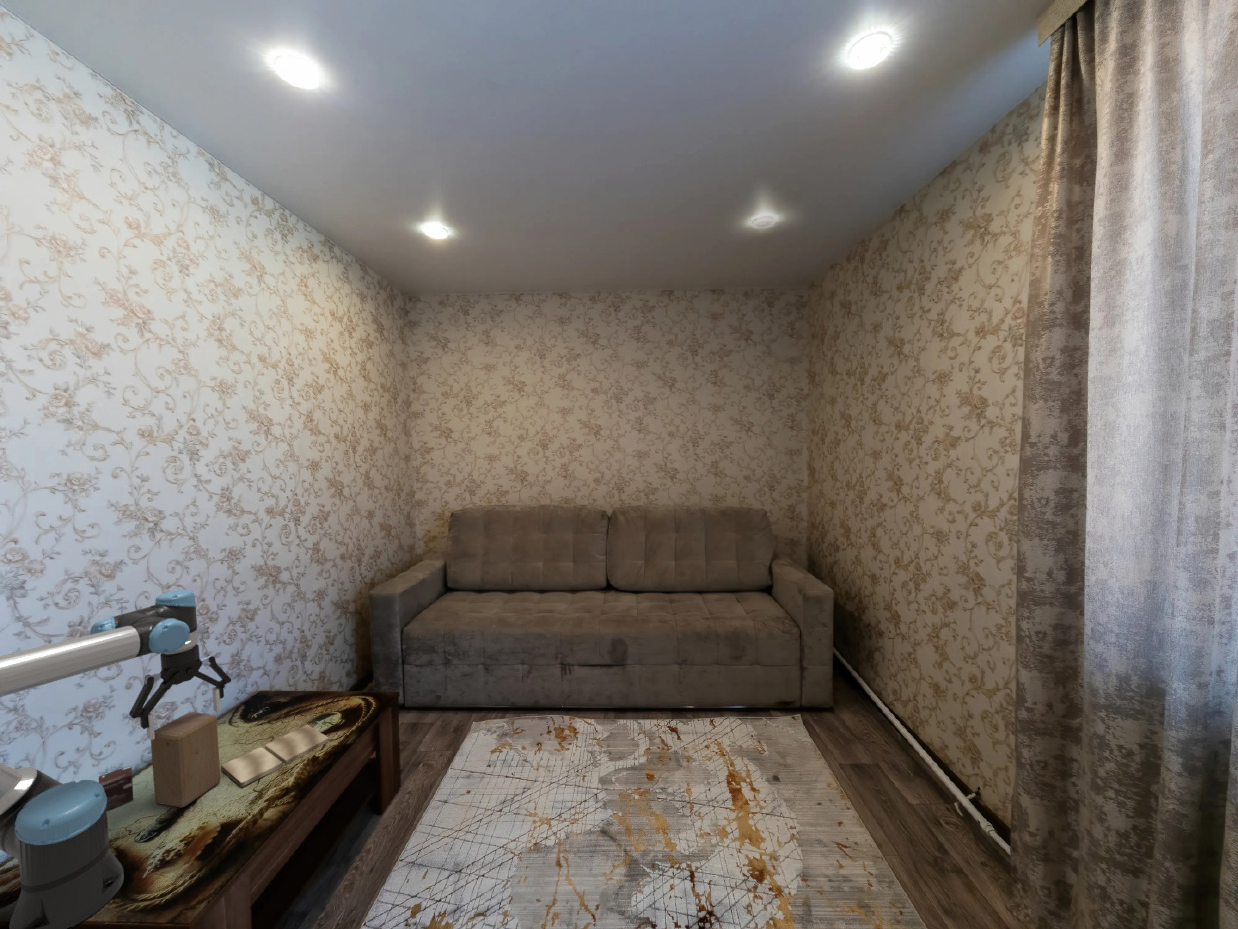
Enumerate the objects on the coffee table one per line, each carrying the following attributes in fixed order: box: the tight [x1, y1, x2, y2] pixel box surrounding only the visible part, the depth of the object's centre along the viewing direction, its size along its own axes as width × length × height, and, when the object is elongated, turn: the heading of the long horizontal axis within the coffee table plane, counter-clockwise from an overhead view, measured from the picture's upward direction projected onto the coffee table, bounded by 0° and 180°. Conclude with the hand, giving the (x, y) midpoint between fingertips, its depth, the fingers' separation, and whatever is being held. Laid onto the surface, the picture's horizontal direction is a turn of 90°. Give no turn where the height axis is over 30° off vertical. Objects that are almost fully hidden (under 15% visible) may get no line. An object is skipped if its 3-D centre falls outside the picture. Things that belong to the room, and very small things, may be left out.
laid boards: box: [264, 724, 330, 765], centre depth 145 cm, size 12×14×1 cm
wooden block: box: [150, 711, 221, 808], centre depth 125 cm, size 10×10×20 cm
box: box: [98, 765, 134, 812], centre depth 122 cm, size 6×6×7 cm
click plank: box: [220, 746, 284, 788], centre depth 134 cm, size 10×14×1 cm
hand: (185, 723), depth 125 cm, fingers open, 13 cm apart
